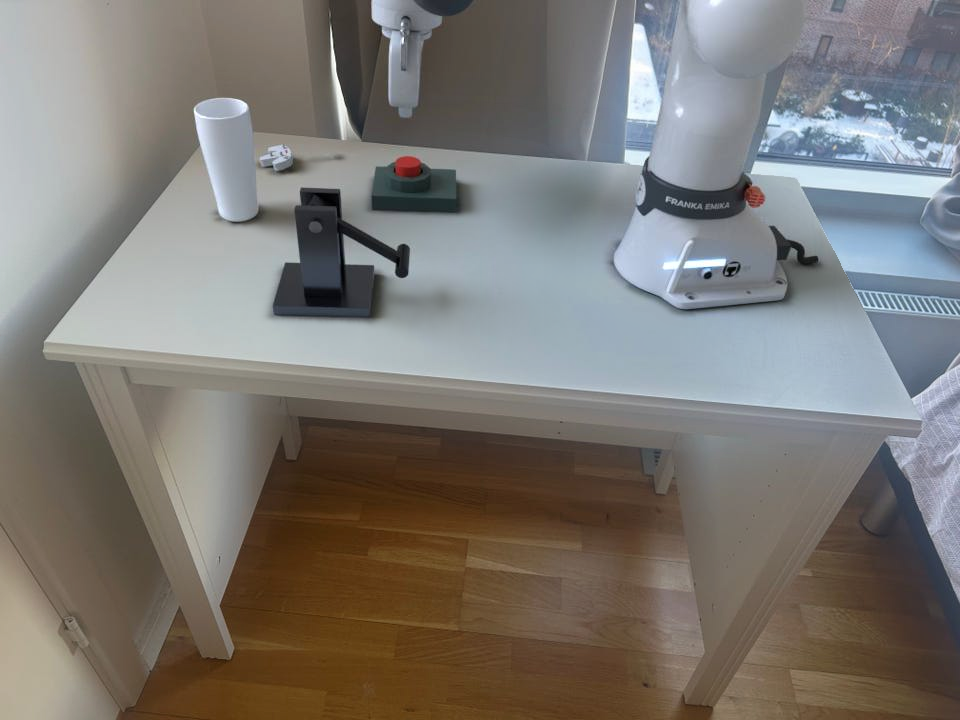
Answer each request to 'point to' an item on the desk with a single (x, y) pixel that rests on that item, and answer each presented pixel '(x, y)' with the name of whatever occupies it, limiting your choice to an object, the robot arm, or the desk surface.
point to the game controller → (278, 157)
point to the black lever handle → (372, 242)
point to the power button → (408, 166)
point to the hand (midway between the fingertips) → (405, 113)
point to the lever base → (322, 265)
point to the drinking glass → (229, 155)
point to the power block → (414, 190)
